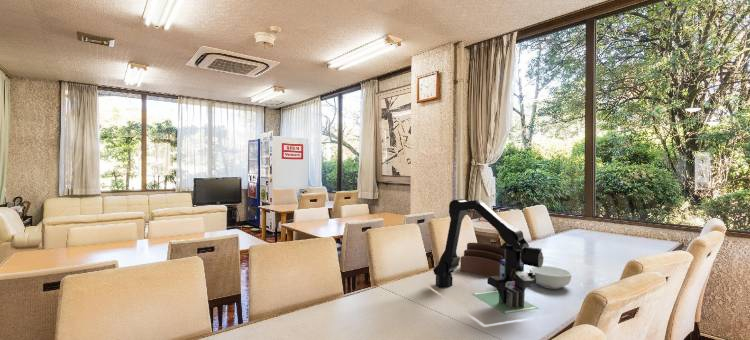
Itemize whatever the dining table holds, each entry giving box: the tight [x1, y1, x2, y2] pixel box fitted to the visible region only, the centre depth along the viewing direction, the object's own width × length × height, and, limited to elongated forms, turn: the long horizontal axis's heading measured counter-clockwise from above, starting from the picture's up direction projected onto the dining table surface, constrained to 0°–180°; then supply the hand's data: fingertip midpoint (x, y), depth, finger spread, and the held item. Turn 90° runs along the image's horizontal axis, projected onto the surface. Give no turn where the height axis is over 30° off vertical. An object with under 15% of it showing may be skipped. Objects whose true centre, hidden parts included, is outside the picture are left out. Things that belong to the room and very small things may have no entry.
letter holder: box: [459, 242, 505, 278], centre depth 177 cm, size 10×20×14 cm, turn 55°
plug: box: [499, 286, 526, 309], centre depth 134 cm, size 6×6×6 cm
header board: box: [471, 290, 540, 314], centre depth 138 cm, size 16×20×3 cm
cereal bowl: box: [529, 265, 572, 290], centre depth 158 cm, size 17×17×7 cm
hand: (511, 302), depth 134 cm, fingers closed on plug, 6 cm apart
